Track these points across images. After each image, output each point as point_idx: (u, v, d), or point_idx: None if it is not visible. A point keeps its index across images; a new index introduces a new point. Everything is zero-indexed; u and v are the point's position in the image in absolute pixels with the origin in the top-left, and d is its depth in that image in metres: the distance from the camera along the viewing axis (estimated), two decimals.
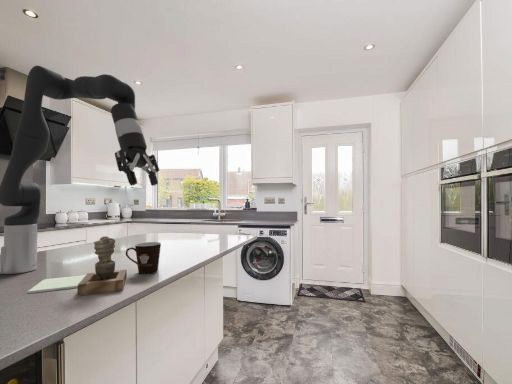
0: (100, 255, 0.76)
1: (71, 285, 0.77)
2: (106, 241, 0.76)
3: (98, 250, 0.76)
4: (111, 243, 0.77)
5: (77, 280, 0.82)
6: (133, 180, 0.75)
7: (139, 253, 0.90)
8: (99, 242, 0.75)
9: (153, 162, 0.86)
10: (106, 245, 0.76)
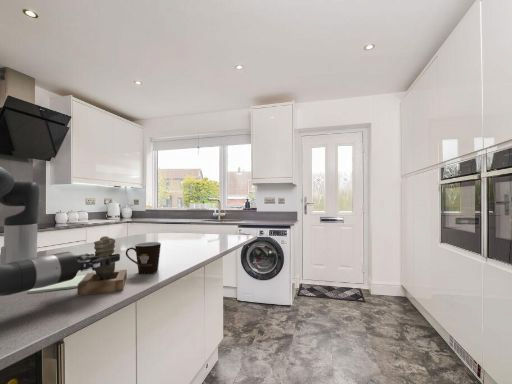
0: (100, 255, 0.76)
1: (71, 285, 0.77)
2: (106, 241, 0.76)
3: (98, 250, 0.76)
4: (111, 243, 0.77)
5: (77, 280, 0.82)
6: None
7: (139, 253, 0.90)
8: (99, 242, 0.75)
9: None
10: (106, 245, 0.76)
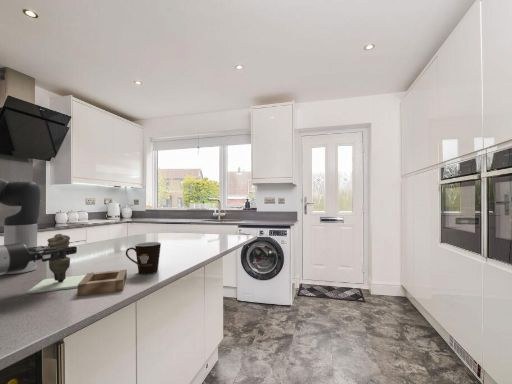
0: None
1: (71, 285, 0.77)
2: (59, 238, 0.79)
3: None
4: (64, 240, 0.80)
5: (77, 280, 0.82)
6: None
7: (139, 253, 0.90)
8: (52, 239, 0.78)
9: None
10: (59, 242, 0.78)
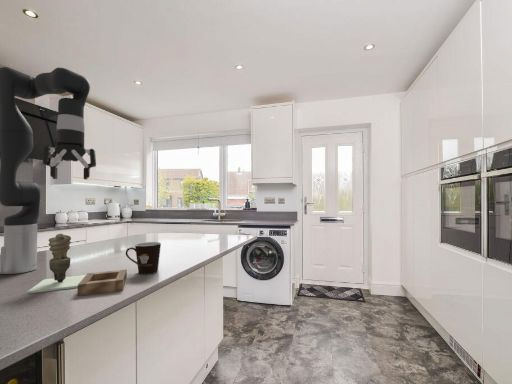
0: (53, 252, 0.78)
1: (71, 285, 0.77)
2: (60, 238, 0.79)
3: (52, 247, 0.78)
4: (65, 240, 0.80)
5: (77, 280, 0.82)
6: (52, 175, 0.84)
7: (139, 253, 0.90)
8: (52, 239, 0.78)
9: (90, 156, 0.88)
10: (59, 242, 0.78)
